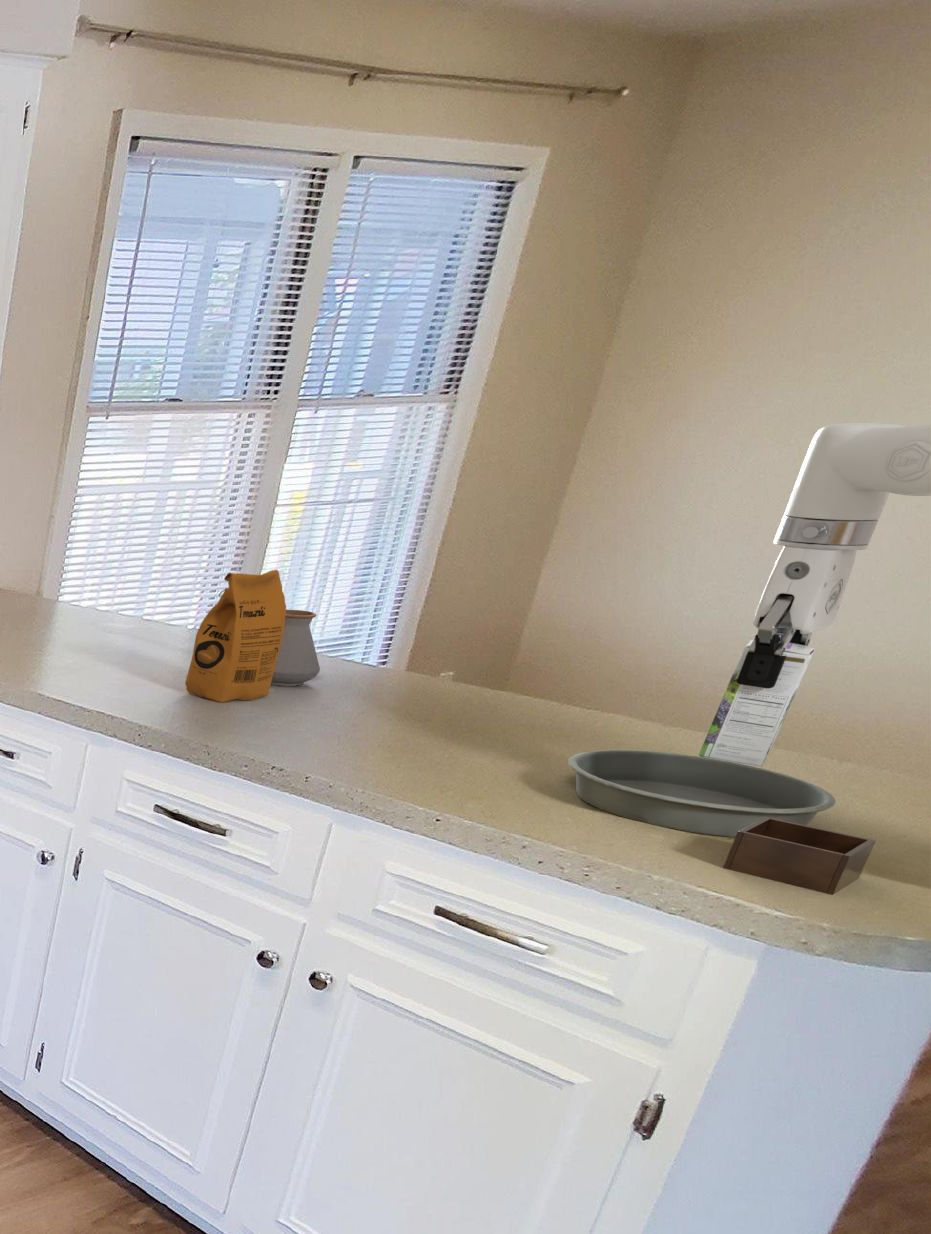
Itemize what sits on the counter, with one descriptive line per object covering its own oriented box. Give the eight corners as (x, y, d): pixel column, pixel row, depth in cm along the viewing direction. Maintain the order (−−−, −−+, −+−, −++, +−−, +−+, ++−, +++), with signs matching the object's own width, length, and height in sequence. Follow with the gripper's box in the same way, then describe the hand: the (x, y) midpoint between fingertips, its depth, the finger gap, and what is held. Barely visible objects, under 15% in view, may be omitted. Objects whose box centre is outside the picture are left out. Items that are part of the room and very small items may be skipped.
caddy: (853, 890, 129) (876, 840, 127) (827, 907, 125) (849, 856, 123) (745, 864, 136) (765, 816, 134) (717, 880, 132) (737, 831, 130)
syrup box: (703, 747, 151) (747, 637, 146) (769, 758, 147) (817, 645, 141) (697, 757, 148) (741, 644, 142) (764, 768, 144) (812, 653, 138)
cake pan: (536, 769, 169) (546, 740, 167) (771, 794, 157) (784, 762, 156) (589, 825, 148) (601, 791, 147) (863, 857, 137) (879, 822, 136)
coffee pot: (331, 685, 214) (352, 604, 208) (283, 691, 211) (303, 608, 205) (229, 660, 233) (246, 585, 228) (184, 665, 230) (200, 589, 225)
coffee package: (173, 690, 213) (199, 569, 205) (231, 685, 215) (258, 565, 207) (218, 704, 203) (246, 577, 196) (277, 699, 206) (307, 574, 198)
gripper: (845, 543, 130) (783, 698, 137) (894, 531, 138) (833, 678, 144) (752, 536, 136) (696, 685, 143) (804, 525, 144) (748, 667, 151)
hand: (765, 680), depth 144 cm, fingers closed on syrup box, 6 cm apart
